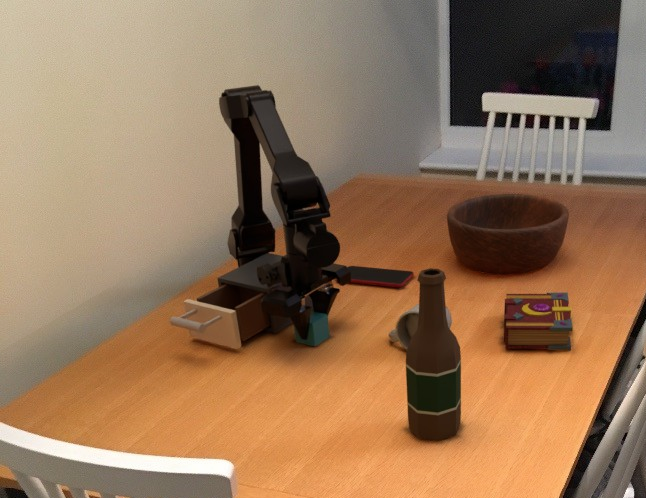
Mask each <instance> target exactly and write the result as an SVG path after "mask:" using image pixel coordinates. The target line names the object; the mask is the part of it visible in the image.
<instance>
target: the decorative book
mask: <svg viewBox="0 0 646 498" xmlns="http://www.w3.org/2000/svg"><path fill="white" fill-rule="evenodd" d="M569 302H570V301H569V293H568V292H567V291H566V292H546V293H506V297H505V298H504V309H503V310H504V311H503V312H504V313H503V343H505V347H504V348H505V349H527V350H529V349H532V350H533V349H534V350H535V349H539V350H541V349H542V350H543V349H544V350H546V349H547V350H548V351H571V350H572V342H571V341H572V340H571V337H570V332H573V329H574V327H573V319H572V317H571V316H572V307H571V306H569V304H570V303H569Z"/></svg>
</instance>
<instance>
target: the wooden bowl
mask: <svg viewBox="0 0 646 498" xmlns="http://www.w3.org/2000/svg"><path fill="white" fill-rule="evenodd" d="M569 217H570V212H569V209H568V208H567V206H566V205H564V203H562V202H560V201H558V200H555V199H553V198H549V197H545V196H540V195H533V194H525V193H498V194H487V195H481V196H476V197H471V198H468V199H465V200H461V201H460V202H457V203H455V204H454V205H452V206H451V207H450V208H449V209H448V211H447V213H446V221H447V230H448V235H449V240H450V244H451V248H452V250H453V252H454V255H455V256H456V258H457V259H458V261H459V262H460V263H461V264H462V265H463V266H464V267H466V269H467V268H468V269H469V270H472V271H475V272H478V273H482V274H488V275H499V276H512V275H522V274H523V275H524V274H529V273H533V272H536V271H539V270H542V269H544V268H546V267H547V266H549V265H550V264H551V263H552V262H553V261H554V260H555V259H556V257H557V256H558V254H559V253H560V251H561V248H562V246H563V243H564V241H565V237H566V234H567V233H566V232H567V229H568V223H569Z"/></svg>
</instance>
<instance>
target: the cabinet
mask: <svg viewBox="0 0 646 498" xmlns="http://www.w3.org/2000/svg"><path fill="white" fill-rule="evenodd" d="M283 256H284V255H282V254H281V255H280V254H276V253H272V252H269V253H267V254H265V255H263V256H261V257H259V258H257V259H255V260H253V261H250V262H248V263H246V264H244V265H242V266H240V267H238V266H237V267H236V268H234V269H232V270H230V271H228V272H226V273H224V274H222V275H220V276H218V277H216V278H217V279H216V280H217V285H218V287H220V286H222V285H224V284H230V285H235V286H239V287H244V288H248V289H253V290H257V291H262V292H266V293H267V294H269V293H271V292H272V291H274V290H276V289H278V290H282V291H287V292H289V291H291V290H292V289H291V287H283V286H282V283H279V284H275V285H272V286H271V287H268V286H267V284H265V285H262V284H260V282H259V280H258V277H257V267H259V266H261V265H263V264H264V265H265V264H267V263H269V264H270V265H272V264H274V263H276V262H279V261H281V258H282V257H283ZM305 305H306V306H311V307H312V308H311V311H314V310H313V304H312V299H311V298H310V296H309V295H307V296H306V297H305ZM270 321H271V325H270V326H269V327H267V328H265V329H263V330H262V331H263V332H268V333H271V334H277V333H279V332H281V331H282V330H284V329H286V328H287V327H289V326H290V325H292V324H293V322H292V320H291V319H290V317H288V318H284V317H280V316H276V315H271V314H270Z"/></svg>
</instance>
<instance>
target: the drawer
mask: <svg viewBox="0 0 646 498" xmlns="http://www.w3.org/2000/svg"><path fill="white" fill-rule="evenodd" d="M265 295H267V293H266V292H262V291H257V290H253V289H248V288H244V287H239V286H235V285H230V284H224V285H222V286H220V287H219V286H217V287H216V288H214V289H211V290H210V291H208V292H206V293H204V294H202V295H200V296H198V297H196V299H195V300H194V299H189V298H187V299H186V300H184V301H183V306H184V312H185V313H183V314H182V315H180V316H175V315H173V316H171V317H170V319H169V324H170V325H171V326H174V327H178V328H181V329H185V330H188V332H189V336H190V338H194V339H198V340H202V341H206V342H209V343H213V344H216V345H221V346H224V347H228V348H231V349H236V350H238V349H240V348H241V347H242V342H245V341H247V340H248V339H250V338H252V337H254V336H255V335H256V334H258V333H260V332H262V331H263V329H265V328H267V327H269V326H270V325H271V321H270V314H267V313H263V312H262V307H261V299H262V298H263V297H264V296H265Z"/></svg>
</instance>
